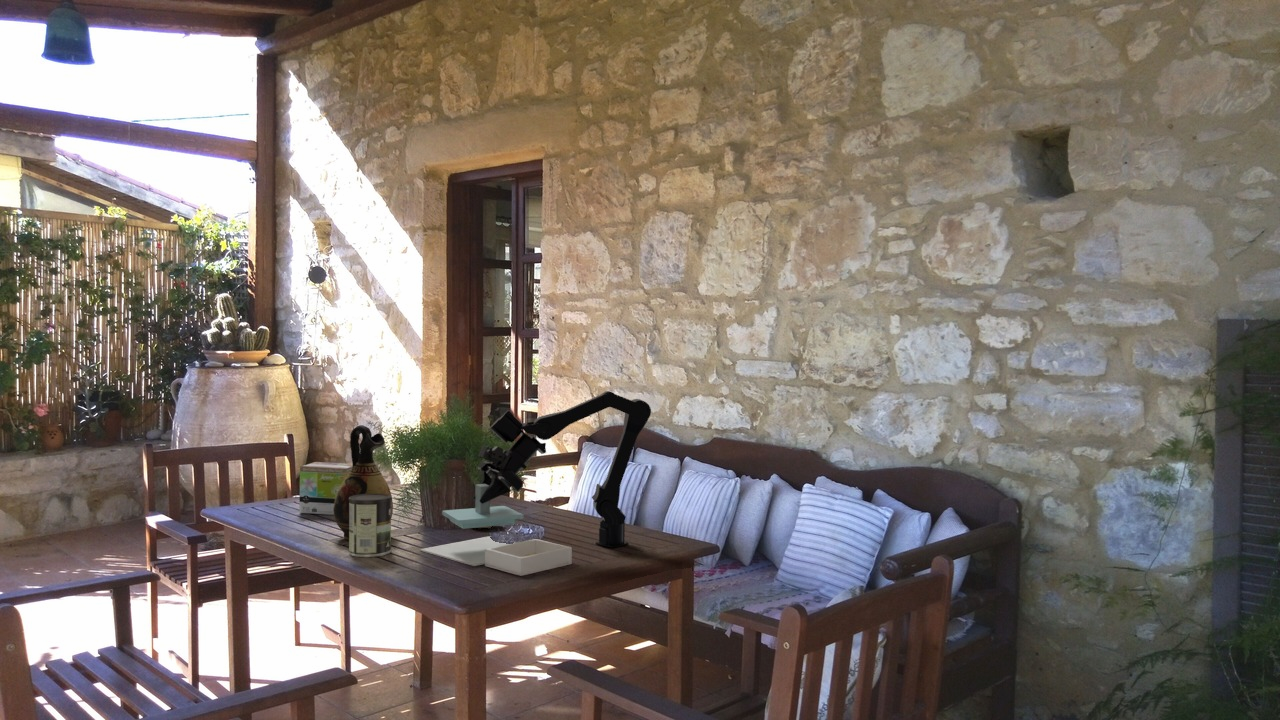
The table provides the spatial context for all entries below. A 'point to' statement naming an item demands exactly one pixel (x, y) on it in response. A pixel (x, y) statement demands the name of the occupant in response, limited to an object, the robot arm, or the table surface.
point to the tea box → (321, 486)
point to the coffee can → (370, 525)
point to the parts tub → (528, 557)
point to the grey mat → (465, 550)
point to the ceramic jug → (360, 475)
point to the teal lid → (482, 513)
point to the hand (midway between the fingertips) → (477, 501)
